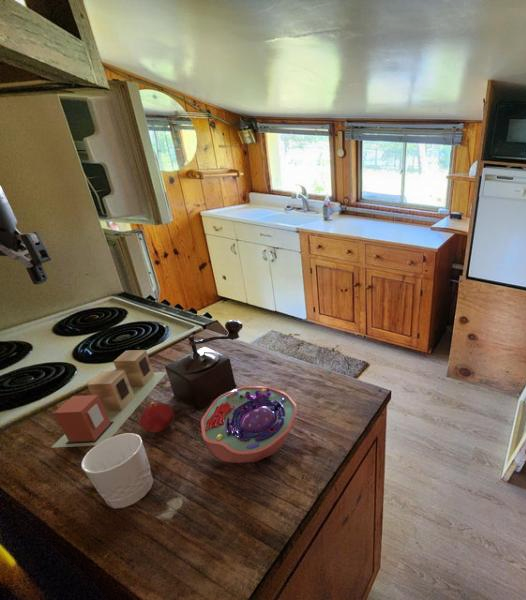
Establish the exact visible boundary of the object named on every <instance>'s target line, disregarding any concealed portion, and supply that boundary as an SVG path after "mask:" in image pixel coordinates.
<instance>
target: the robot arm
mask: <svg viewBox="0 0 526 600" xmlns="http://www.w3.org/2000/svg"><path fill="white" fill-rule="evenodd" d="M17 224H18V220H17V218H16V215H15V214H14V212H13V209H12V207H11V205H10V203H9V201H8V198H7V196H6V193H5V192H4V190H3V188H2V186H1V185H0V257H9V258H10V259H11V260H14V261H18V262H19V263H21V264H22V265H24V266H26V267H25V269H26V271H27V274H28V276H29V278H30V279H31V282H32V284H33V285H42V284H44V283H46V282H47V280H48V275H47V273H46V272H45V269H44V267H43V264H44V263H47V262H51V260H52V257H51V255H50V254H49V251H48V249H47V247H46V245H45V243H44V241H43V239H42V237H41V235H40V233H38V231H31V232H27V233H21V232H20V231H19V230H18V229H17Z"/></svg>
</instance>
